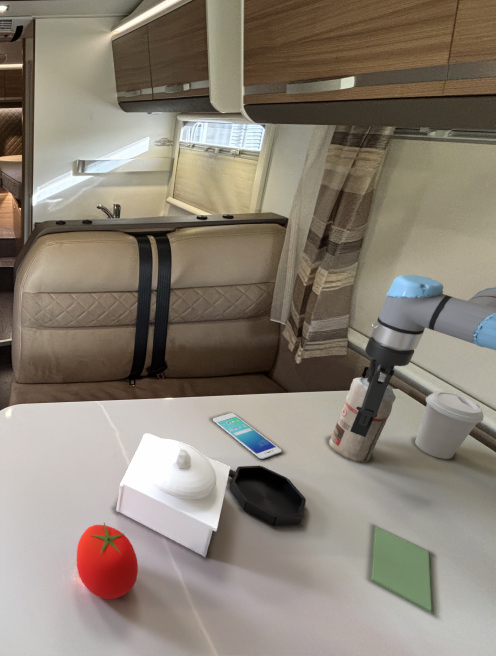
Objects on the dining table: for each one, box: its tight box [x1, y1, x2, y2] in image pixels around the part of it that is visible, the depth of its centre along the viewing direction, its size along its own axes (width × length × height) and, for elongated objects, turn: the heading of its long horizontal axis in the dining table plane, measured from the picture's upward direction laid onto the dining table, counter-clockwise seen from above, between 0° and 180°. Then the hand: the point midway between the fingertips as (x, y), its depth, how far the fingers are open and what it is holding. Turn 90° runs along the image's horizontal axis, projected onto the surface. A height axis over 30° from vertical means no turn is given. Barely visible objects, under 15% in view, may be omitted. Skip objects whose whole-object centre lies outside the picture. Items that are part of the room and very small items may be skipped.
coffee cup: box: [414, 390, 484, 460], centre depth 103 cm, size 10×10×15 cm
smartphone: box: [212, 412, 283, 461], centre depth 110 cm, size 8×1×15 cm
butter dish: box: [115, 432, 231, 558], centre depth 89 cm, size 18×18×16 cm
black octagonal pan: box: [228, 465, 307, 527], centre depth 95 cm, size 22×13×3 cm, turn 47°
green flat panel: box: [370, 526, 434, 615], centre depth 79 cm, size 8×14×1 cm, turn 137°
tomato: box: [76, 522, 139, 600], centre depth 76 cm, size 10×11×11 cm
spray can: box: [328, 377, 396, 463], centre depth 102 cm, size 8×8×20 cm
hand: (359, 418), depth 102 cm, fingers open, 13 cm apart
